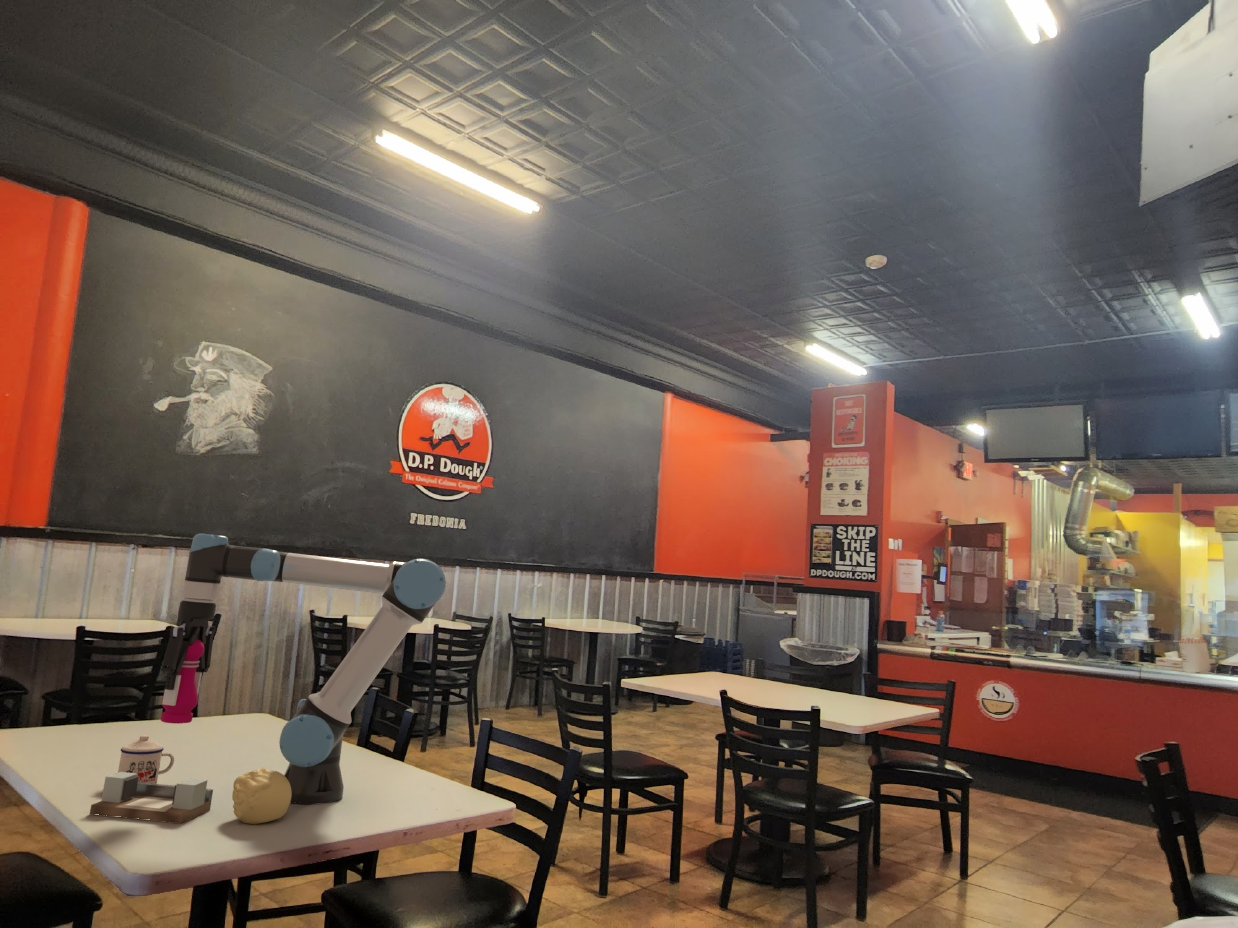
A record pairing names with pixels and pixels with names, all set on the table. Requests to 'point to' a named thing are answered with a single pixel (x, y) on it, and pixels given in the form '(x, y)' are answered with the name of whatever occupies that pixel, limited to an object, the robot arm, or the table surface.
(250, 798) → the sculpture
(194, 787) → the block
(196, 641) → the pepper mill
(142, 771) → the teacup with lid
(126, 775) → the finger block
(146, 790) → the steel rail bar
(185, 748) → the table surface
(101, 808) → the wooden frame tray
